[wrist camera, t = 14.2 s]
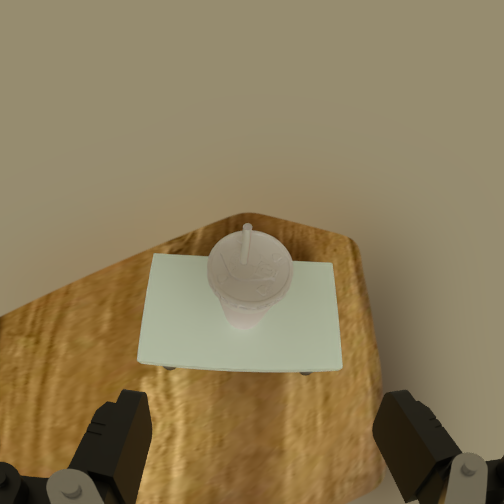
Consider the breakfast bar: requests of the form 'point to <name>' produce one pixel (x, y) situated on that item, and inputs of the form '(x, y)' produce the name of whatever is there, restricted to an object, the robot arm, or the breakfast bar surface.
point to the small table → (230, 338)
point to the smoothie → (249, 275)
